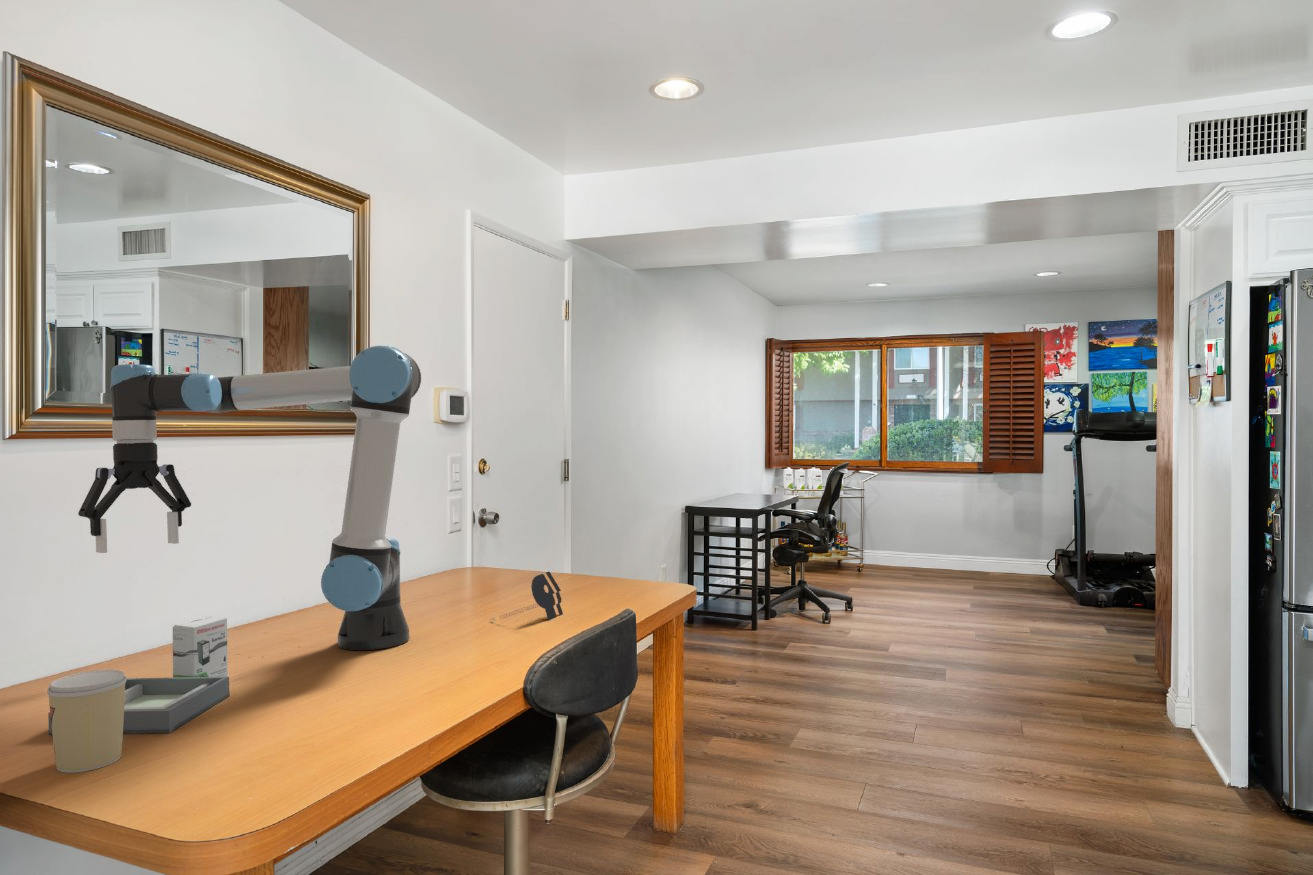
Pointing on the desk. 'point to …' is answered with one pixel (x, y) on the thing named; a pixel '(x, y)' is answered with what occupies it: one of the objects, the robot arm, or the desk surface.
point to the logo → (544, 596)
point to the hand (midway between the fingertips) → (138, 547)
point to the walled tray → (167, 702)
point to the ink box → (200, 648)
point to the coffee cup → (87, 719)
